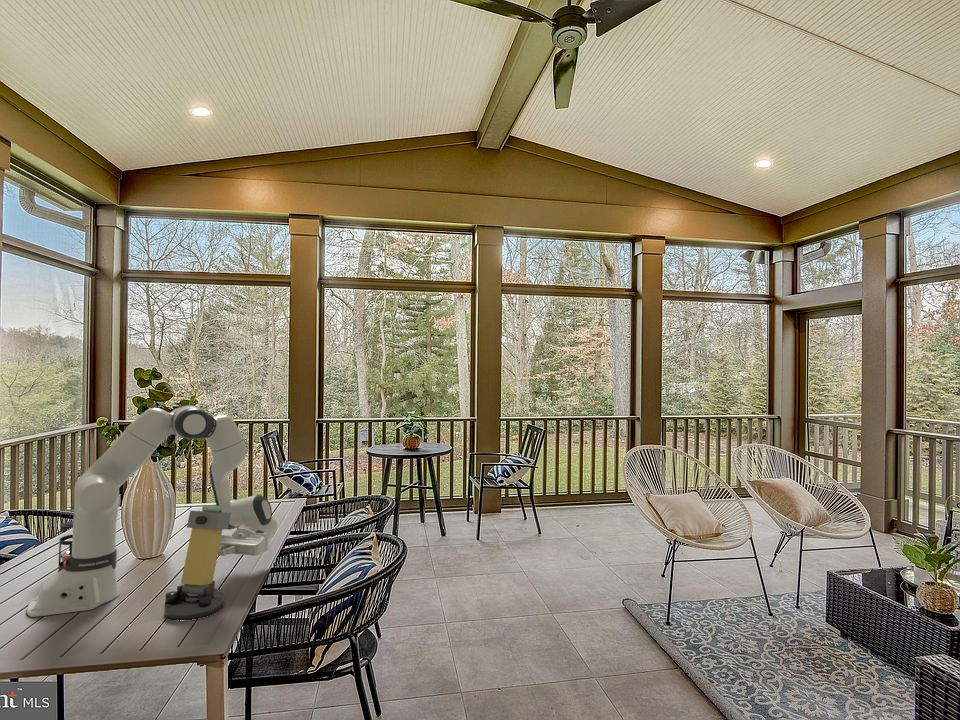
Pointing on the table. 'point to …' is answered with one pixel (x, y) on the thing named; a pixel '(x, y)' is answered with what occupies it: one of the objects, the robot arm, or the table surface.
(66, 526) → the french press
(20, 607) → the table surface
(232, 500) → the robot arm
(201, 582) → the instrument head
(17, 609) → the table surface
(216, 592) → the levelling base
